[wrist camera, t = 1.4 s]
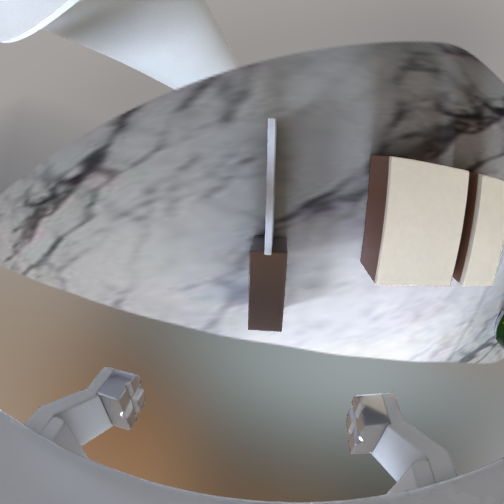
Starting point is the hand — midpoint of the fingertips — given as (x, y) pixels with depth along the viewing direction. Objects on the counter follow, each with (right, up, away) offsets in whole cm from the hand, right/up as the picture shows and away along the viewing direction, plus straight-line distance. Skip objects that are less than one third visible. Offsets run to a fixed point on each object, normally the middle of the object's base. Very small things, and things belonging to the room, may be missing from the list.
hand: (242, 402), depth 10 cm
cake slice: (+16, +8, +8) cm, 20 cm away
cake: (+11, +8, +9) cm, 16 cm away
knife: (+2, +7, +10) cm, 13 cm away
